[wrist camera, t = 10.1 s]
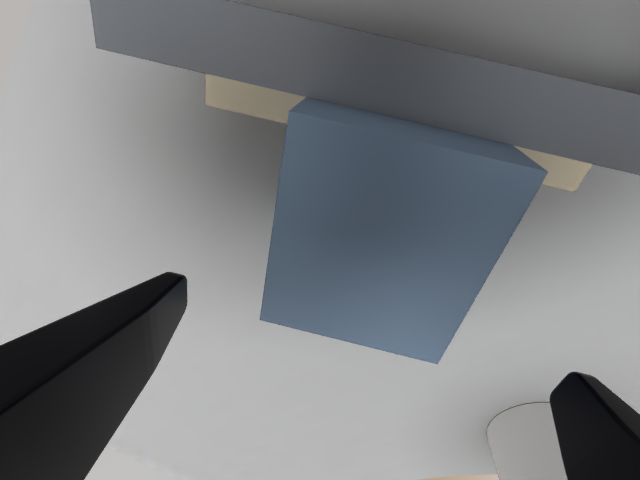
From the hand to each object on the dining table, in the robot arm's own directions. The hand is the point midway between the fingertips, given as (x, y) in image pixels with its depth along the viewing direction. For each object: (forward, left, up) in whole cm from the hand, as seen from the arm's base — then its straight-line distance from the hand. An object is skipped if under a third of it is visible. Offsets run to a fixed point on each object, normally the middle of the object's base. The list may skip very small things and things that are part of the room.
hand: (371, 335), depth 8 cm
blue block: (0, 0, -11) cm, 11 cm away
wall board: (0, -5, -11) cm, 12 cm away
